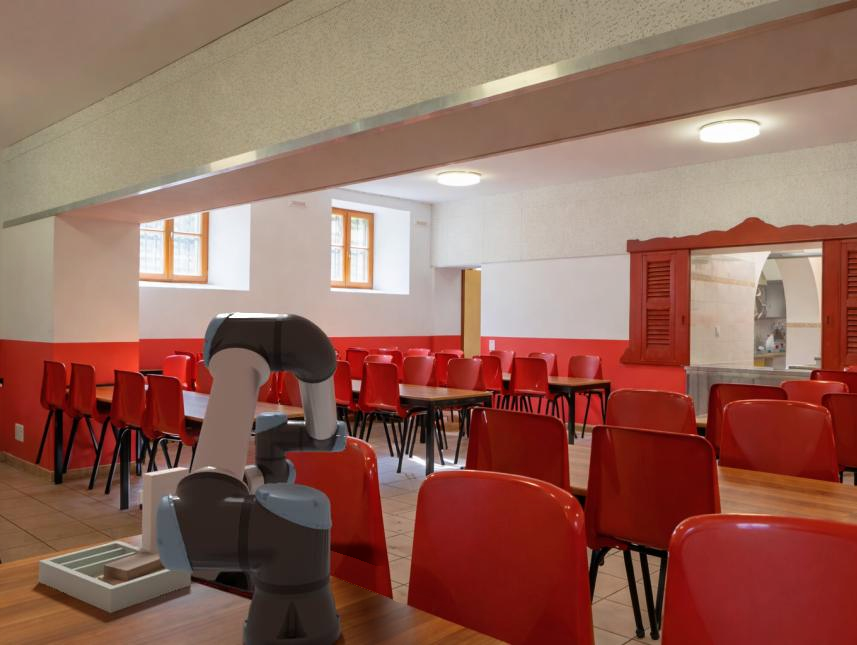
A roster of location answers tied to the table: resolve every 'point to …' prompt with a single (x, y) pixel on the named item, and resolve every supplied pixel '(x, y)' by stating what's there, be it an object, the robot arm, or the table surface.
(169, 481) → the white rectangular block
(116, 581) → the offcut lower
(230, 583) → the smartphone
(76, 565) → the tray
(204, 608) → the table surface
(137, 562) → the offcut upper
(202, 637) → the table surface
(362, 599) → the table surface
